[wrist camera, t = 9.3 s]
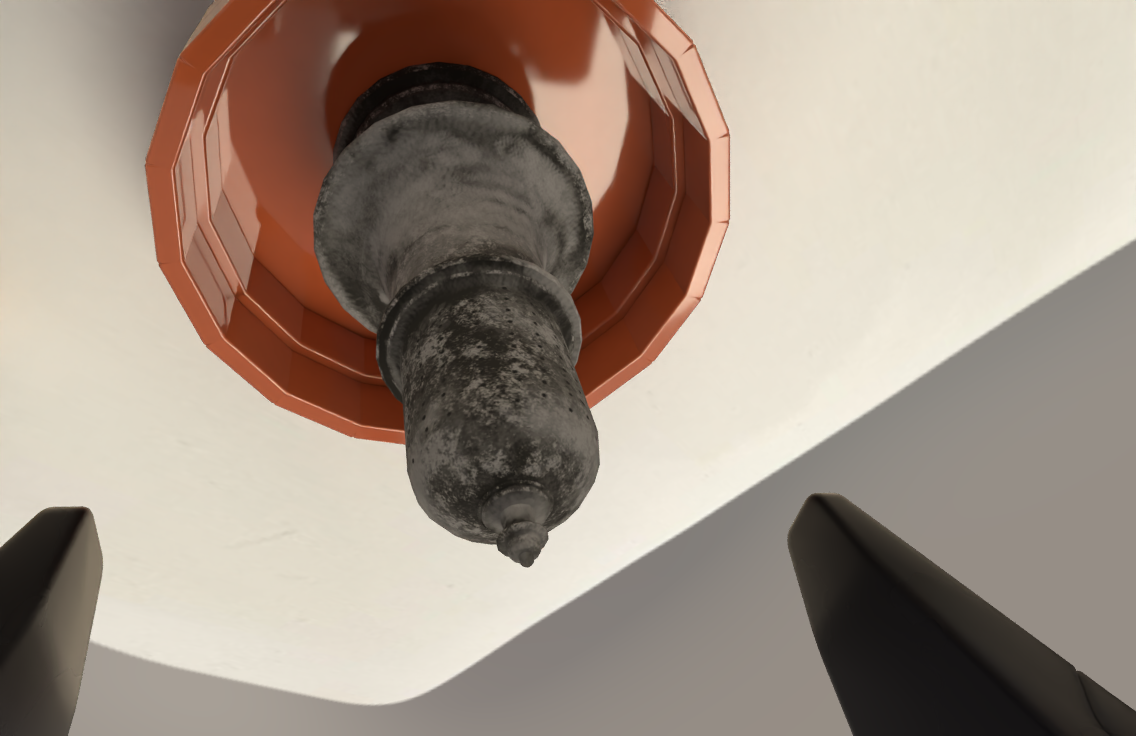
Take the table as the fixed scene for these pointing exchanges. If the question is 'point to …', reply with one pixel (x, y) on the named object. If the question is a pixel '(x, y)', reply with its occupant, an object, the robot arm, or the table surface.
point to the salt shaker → (468, 295)
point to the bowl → (305, 155)
